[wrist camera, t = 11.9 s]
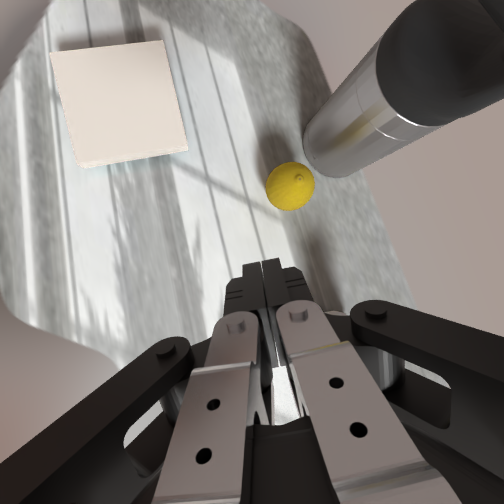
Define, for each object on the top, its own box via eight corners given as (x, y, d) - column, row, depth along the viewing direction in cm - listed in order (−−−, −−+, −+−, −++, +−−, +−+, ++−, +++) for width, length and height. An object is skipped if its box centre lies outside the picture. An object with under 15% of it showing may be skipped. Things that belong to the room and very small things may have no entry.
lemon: (276, 163, 41) (295, 142, 33) (308, 190, 42) (334, 175, 34) (251, 196, 41) (264, 182, 33) (284, 223, 41) (305, 215, 33)
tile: (188, 151, 38) (165, 53, 38) (187, 144, 36) (163, 39, 35) (84, 169, 36) (59, 66, 36) (76, 163, 34) (49, 52, 33)
